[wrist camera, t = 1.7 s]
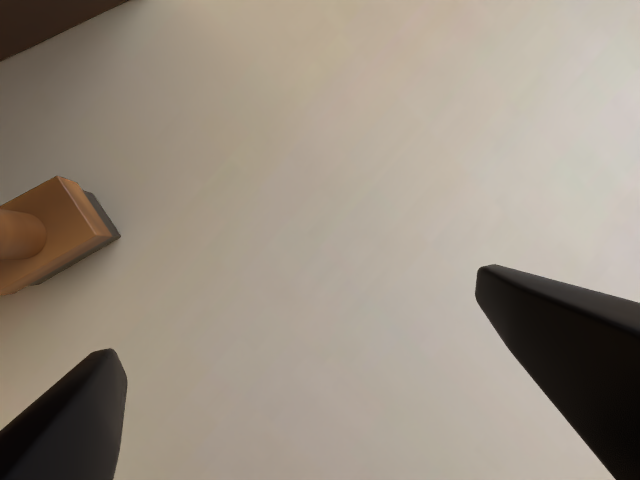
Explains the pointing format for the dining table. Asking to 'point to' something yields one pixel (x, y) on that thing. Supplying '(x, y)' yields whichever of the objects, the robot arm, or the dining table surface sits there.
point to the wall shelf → (42, 20)
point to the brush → (49, 232)
